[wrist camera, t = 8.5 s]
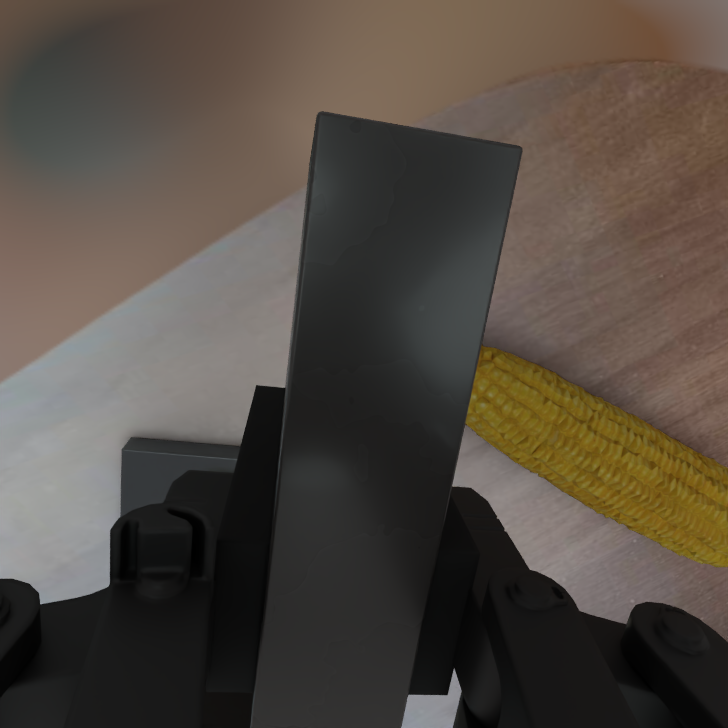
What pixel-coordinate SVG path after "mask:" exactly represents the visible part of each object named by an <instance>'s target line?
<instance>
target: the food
mask: <svg viewBox="0 0 728 728" xmlns="http://www.w3.org/2000/svg"><path fill="white" fill-rule="evenodd" d="M465 424H466V425H467V426H469V427H470V428H471V429H473V430H474V431H475V432H476V434H477V435H479V436H480V437H482V438H483V439H484V440H486V441H487V442H488V443H490V444H491V445H492V446H494V447H495V448H497V449H498V450H500V451H501V452H503V453H504V454H506V455H507V456H508V457H510V459H512V460H513V461H514V462H515V463H518V464H520V465H521V466H522V467H524V468H526V469H528V470H530V471H531V472H533V473H538V476H539V477H544V478H545V479H546V480H547V481H549V482H550V483H551V484H553V485H554V486H556V487H557V488H558V489H560V490H561V491H563V492H565V493H567V494H568V495H570V496H572V497H574V498H575V499H577V500H579V501H580V502H582V503H583V504H584V505H586V506H588V507H590V508H592V509H593V510H595V511H596V512H597V514H603V515H604V516H605V517H606V518H607V517H610V518H612V519H614V520H615V521H616V522H617V523H618V524H624V525H626V526H627V528H629V530H632V531H635V532H637V533H639V534H641V535H644V536H646V537H648V538H650V539H652V540H654V541H656V542H657V543H659V544H660V545H662V546H663V547H666V548H667V549H669V550H672V551H673V552H675V553H676V554H678V555H679V556H681V555H683V556H685V557H687V558H689V559H692V560H694V561H696V562H699V563H701V564H703V563H705V564H711V565H712V566H715V567H728V468H727V467H725V466H723V465H720V464H719V463H718V462H716V461H715V460H714V459H713V458H707V457H705V456H703V455H702V454H701V453H697V452H696V451H693V449H691V448H689V447H687V446H685V445H683V444H682V443H680V442H679V441H677V440H676V439H672V438H671V437H669V436H668V435H666V434H665V433H663V432H661V431H660V430H659V429H655V428H654V427H652V425H650V424H648V423H646V422H645V421H643V420H641V419H639V418H638V417H637V416H635V415H633V414H629V413H627V412H625V411H623V410H621V409H620V408H619V407H616V406H614V405H612V404H610V403H609V402H607V401H604V400H603V398H601V397H595V396H594V395H592V394H590V393H588V392H586V391H585V390H584V389H583V388H582V387H579V386H577V385H574V384H572V383H570V382H568V381H566V380H564V379H562V378H561V377H560V376H559V375H557V374H556V373H555V372H552V371H549V370H547V369H545V368H543V367H541V366H539V365H537V364H534V363H532V362H529V361H527V360H524V359H522V358H520V357H517V356H515V355H513V354H511V353H507V352H504V351H501V350H499V349H497V348H491V347H484V346H483V345H482V346H481V351H480V355H479V360H478V365H477V370H476V374H475V379H474V384H473V389H472V393H471V398H470V403H469V408H468V412H467V417H466V422H465Z"/></svg>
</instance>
